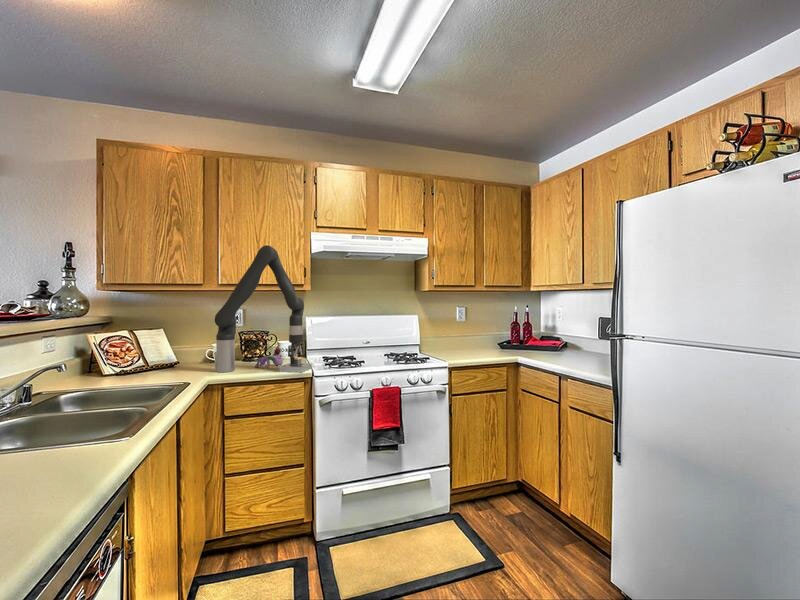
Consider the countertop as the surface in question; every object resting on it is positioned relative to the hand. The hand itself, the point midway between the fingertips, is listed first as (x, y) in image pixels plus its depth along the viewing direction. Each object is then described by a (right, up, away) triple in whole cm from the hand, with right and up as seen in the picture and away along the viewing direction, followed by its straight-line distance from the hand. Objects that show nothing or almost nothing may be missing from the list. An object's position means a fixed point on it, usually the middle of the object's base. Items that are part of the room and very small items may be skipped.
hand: (295, 362), depth 213 cm
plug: (0, -4, 0) cm, 4 cm away
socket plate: (0, -4, 0) cm, 4 cm away
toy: (-18, -5, +12) cm, 21 cm away
